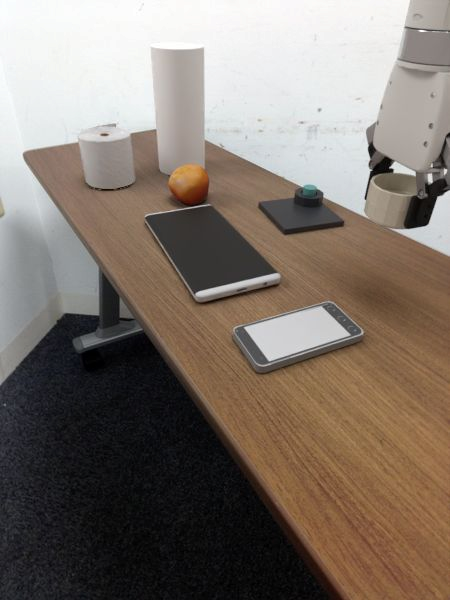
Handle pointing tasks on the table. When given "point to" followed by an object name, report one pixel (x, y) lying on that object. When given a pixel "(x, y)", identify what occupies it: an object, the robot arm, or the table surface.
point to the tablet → (210, 253)
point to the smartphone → (296, 336)
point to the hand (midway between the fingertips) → (394, 211)
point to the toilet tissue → (107, 156)
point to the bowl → (390, 199)
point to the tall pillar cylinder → (179, 104)
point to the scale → (300, 213)
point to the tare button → (309, 190)
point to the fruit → (189, 184)
